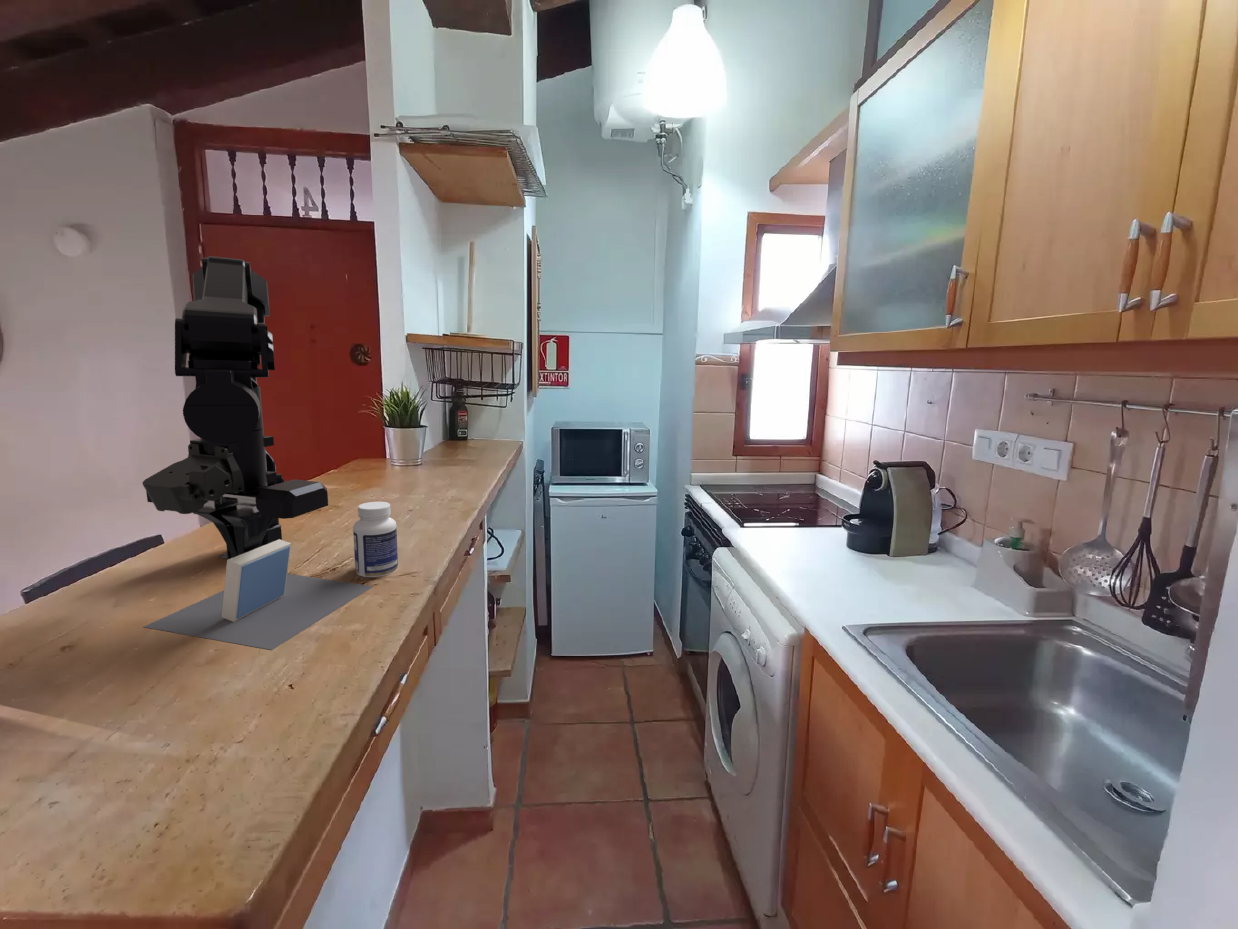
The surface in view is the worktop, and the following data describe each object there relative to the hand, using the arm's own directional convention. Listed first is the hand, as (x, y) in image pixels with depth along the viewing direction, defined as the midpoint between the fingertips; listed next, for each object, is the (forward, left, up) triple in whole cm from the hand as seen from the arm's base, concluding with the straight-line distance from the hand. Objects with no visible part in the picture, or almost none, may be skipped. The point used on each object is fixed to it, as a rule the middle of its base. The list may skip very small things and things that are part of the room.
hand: (245, 565), depth 63 cm
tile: (+1, 0, -5) cm, 5 cm away
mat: (+2, +1, -6) cm, 6 cm away
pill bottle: (+7, +14, -6) cm, 17 cm away
